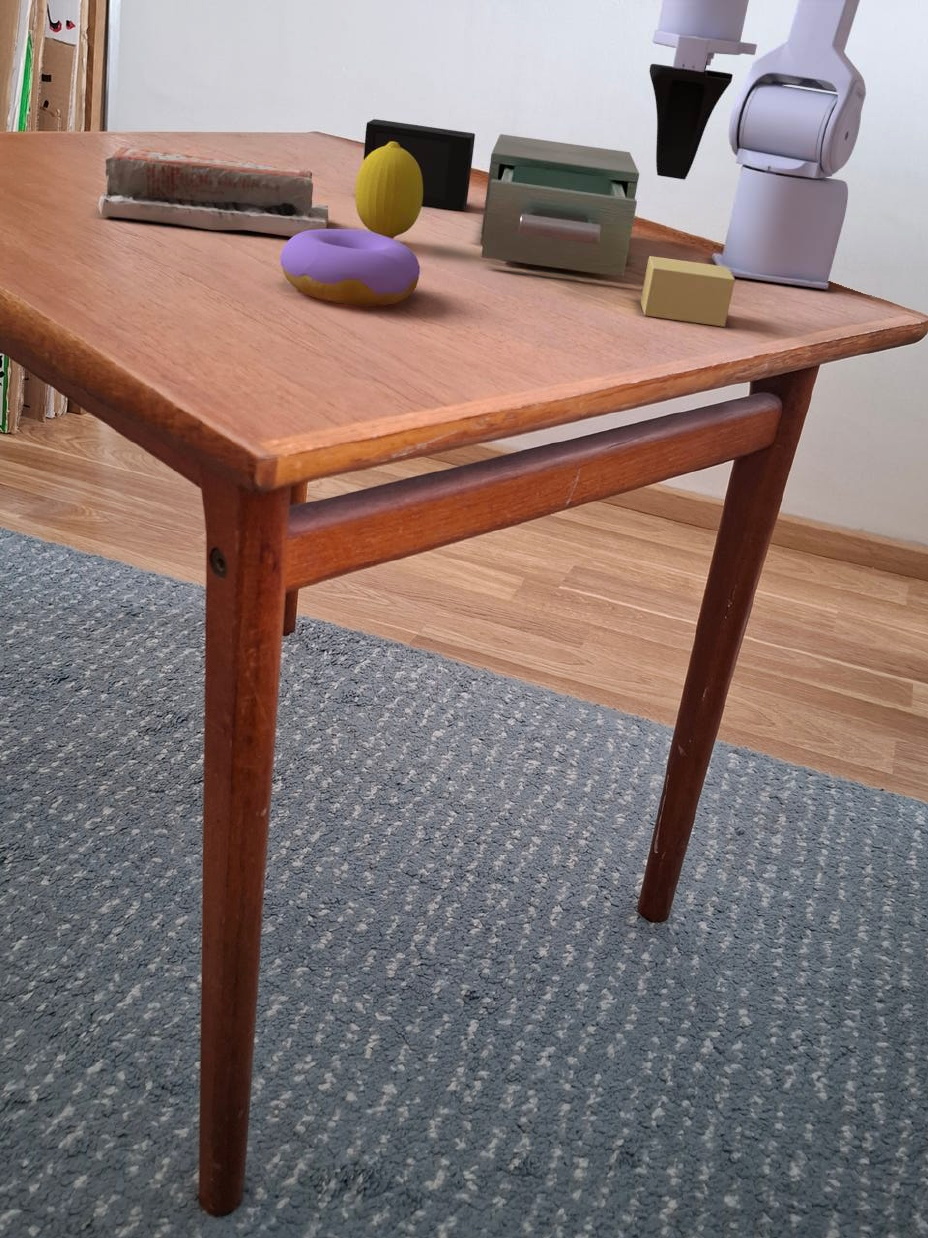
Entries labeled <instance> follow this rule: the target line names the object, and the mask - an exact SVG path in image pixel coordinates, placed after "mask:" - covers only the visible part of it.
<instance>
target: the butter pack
mask: <svg viewBox="0 0 928 1238" xmlns="http://www.w3.org/2000/svg"><path fill="white" fill-rule="evenodd" d="M644 276H645V277H644V281H643V286H642V291H641V297H640V304H641V307H642V313H643V315H644V316H645V317H650V318H659V319H665V320H671V321H672V320H673V321H679V322H687V323H693V324H701V325H707V326H716V327H722V328H724V327H725V326H726V322H727V318H728V315H729V309H730V305H731V300H732V296H733V291H734V287H735V283H736V279H735V276H733V275H732V274H731V272H730V270H729V269H728V267H724V266H717V265H716V264H709V263H701V262H696V261H695V262H694V261H687V260H681V259H674V258H673V259H672V258H666V257H660V256H652V255H650V256H648V259H647V266H646V271H645V275H644Z"/></svg>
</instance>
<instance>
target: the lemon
mask: <svg viewBox="0 0 928 1238" xmlns="http://www.w3.org/2000/svg"><path fill="white" fill-rule="evenodd" d="M354 197H355V206H356V211H357V212H356V213H357V215H358V217H359V219H360V221H361V223H362V224H363V225H364V227H366V229H368V231H370V232H374V233H377V234H380V235H383V236H386V237H389V238H392V239H395V237H397V236H400V235H403V234H404V233H406V232H407V231H409V230H410V229H412V227H413V226H414V224H415V223H416V222H417V220H418V218H419V215H420V213H421V210H422V206H423V205H422V199H423V181H422V175H421V171H420V168H419V165H418V163H417V162H416V160H415V159H414V158H413V156H412V155H411V154H410V153H408V152H407V151H406V150H404V149H402V148H401V147H400V146H399V144H398V143H397V142H389V143H388V144H387V145H386V146H383V147H380V148H378V149H376V150H374V151H373V152H372V153H370V154H369V155H368V156H367V157H366V159H365V160H364V159H363V161H362V163H361V165H360V168H359V170H358V174H357V178H356V182H355V190H354Z"/></svg>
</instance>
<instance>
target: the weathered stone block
mask: <svg viewBox="0 0 928 1238" xmlns="http://www.w3.org/2000/svg"><path fill="white" fill-rule="evenodd" d="M104 161H105V169H104V173H105V178H106V186H105V192H104V194H103V195H102V194H101V195H100V197H99V201H98V205H97V207H98V210H99V214H100V216H103V217H109V218H110V217H111V218H116V219H125V220H133V221H140V222H147V223H148V222H149V223H156V224H165V225H173V226H180V227H188V228H197V229H203V230H211V231H250V232H257V233H265V234H269V235H277V236H284V237H290V238H292V237H293V236H294V235H296V234H298V233H301V232H304V231H308V230H319V229H328V228H327V225H328V222H329V205H323V204H316V205H313V192H314V191H313V190H314V183H313V181H312V180H313V172H312V171H311V170H306V169H290V168H281V167H276V166H270V165H265V164H264V165H263V164H258V163H257V164H256V163H250V162H248V161H244V162H242V161H234V160H225V159H215V158H210V157H202V156H193V155H188V154H181V153H173V152H172V153H171V152H164V151H157V150H150V149H149V150H148V149H142V148H140V149H139V148H133V147H126V146H121V147H119V148H118V149H117V150H115V151H114V152H113V153H112V154H111V155H109V156H108V157H107V158H106V159H104Z"/></svg>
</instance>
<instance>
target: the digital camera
mask: <svg viewBox="0 0 928 1238" xmlns="http://www.w3.org/2000/svg"><path fill="white" fill-rule="evenodd" d="M364 135H365V137H364V150H363V161H364V160H365V159H366V157H367V156H368V155H369V154H370V153H372V152H373V151H374V150H376V149H378V148H380V147H383V146H386V145H387V144H388V143H389V142H397V143H398V144H399V146H400V147H401V148H402V149H404V150H406V151H407V152H408V153H410V154H411V155H412V156H413V158H414V159H415V160H416V162H417V163H418V165H419V168H420V171H421V175H422V181H423V199H422V205H421V206H425V207H432V208H440V209H444V210H445V209H446V210H454V211H460V212H463V211H464V210H465V208H466V207H467V205H468V199H469V198H468V197H469V190H470V183H471V182H470V181H471V172H472V165H473V156H474V149H475V141H476V140H475V139H476V133H474V132H468V131H461V130H460V131H459V130H453V129H447V128H439V127H432V126H426V125H420V124H412V123H405V122H397V121H390V120H383V119H376V118H373V119H371V120H369V121H368V122H366V126H365V134H364Z"/></svg>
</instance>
